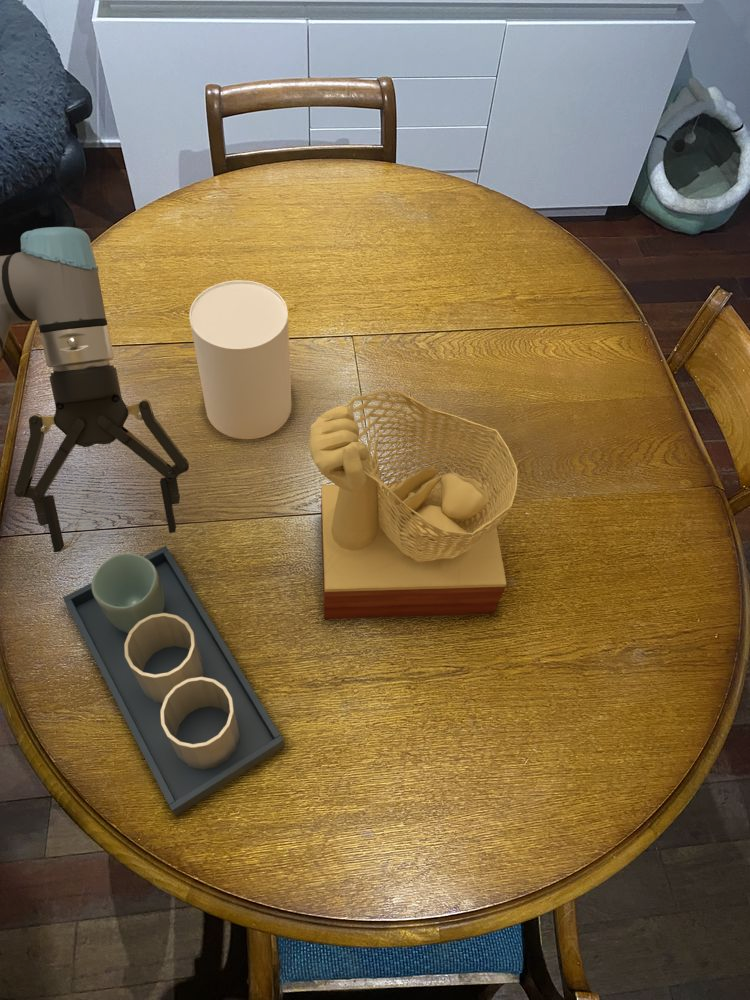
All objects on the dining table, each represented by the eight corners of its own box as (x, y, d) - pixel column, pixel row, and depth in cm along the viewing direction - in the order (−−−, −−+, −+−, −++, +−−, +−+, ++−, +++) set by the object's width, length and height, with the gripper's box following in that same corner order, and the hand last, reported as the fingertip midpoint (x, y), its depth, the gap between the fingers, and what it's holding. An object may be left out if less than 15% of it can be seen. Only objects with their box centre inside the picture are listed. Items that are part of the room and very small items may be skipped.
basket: (311, 623, 106) (310, 473, 76) (309, 511, 115) (307, 340, 86) (493, 617, 108) (559, 469, 79) (475, 507, 118) (529, 340, 88)
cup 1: (97, 628, 102) (78, 594, 94) (130, 580, 107) (114, 543, 98) (149, 651, 101) (134, 618, 93) (180, 601, 105) (168, 566, 97)
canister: (201, 439, 121) (183, 347, 105) (210, 373, 129) (195, 278, 112) (289, 441, 122) (285, 350, 106) (293, 376, 130) (290, 282, 113)
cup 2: (130, 666, 101) (113, 634, 92) (186, 635, 104) (175, 601, 95) (157, 718, 97) (142, 690, 89) (215, 684, 100) (206, 654, 92)
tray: (69, 608, 105) (62, 597, 102) (169, 557, 110) (165, 545, 107) (176, 817, 91) (171, 811, 88) (284, 748, 96) (284, 740, 94)
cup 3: (162, 728, 97) (148, 700, 88) (221, 693, 100) (212, 664, 91) (192, 784, 93) (180, 761, 85) (252, 747, 96) (245, 721, 88)
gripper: (-41, 382, 86) (2, 565, 91) (189, 353, 91) (219, 529, 96) (-23, 379, 93) (17, 549, 98) (189, 352, 98) (217, 516, 103)
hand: (116, 539), depth 97 cm, fingers open, 13 cm apart
